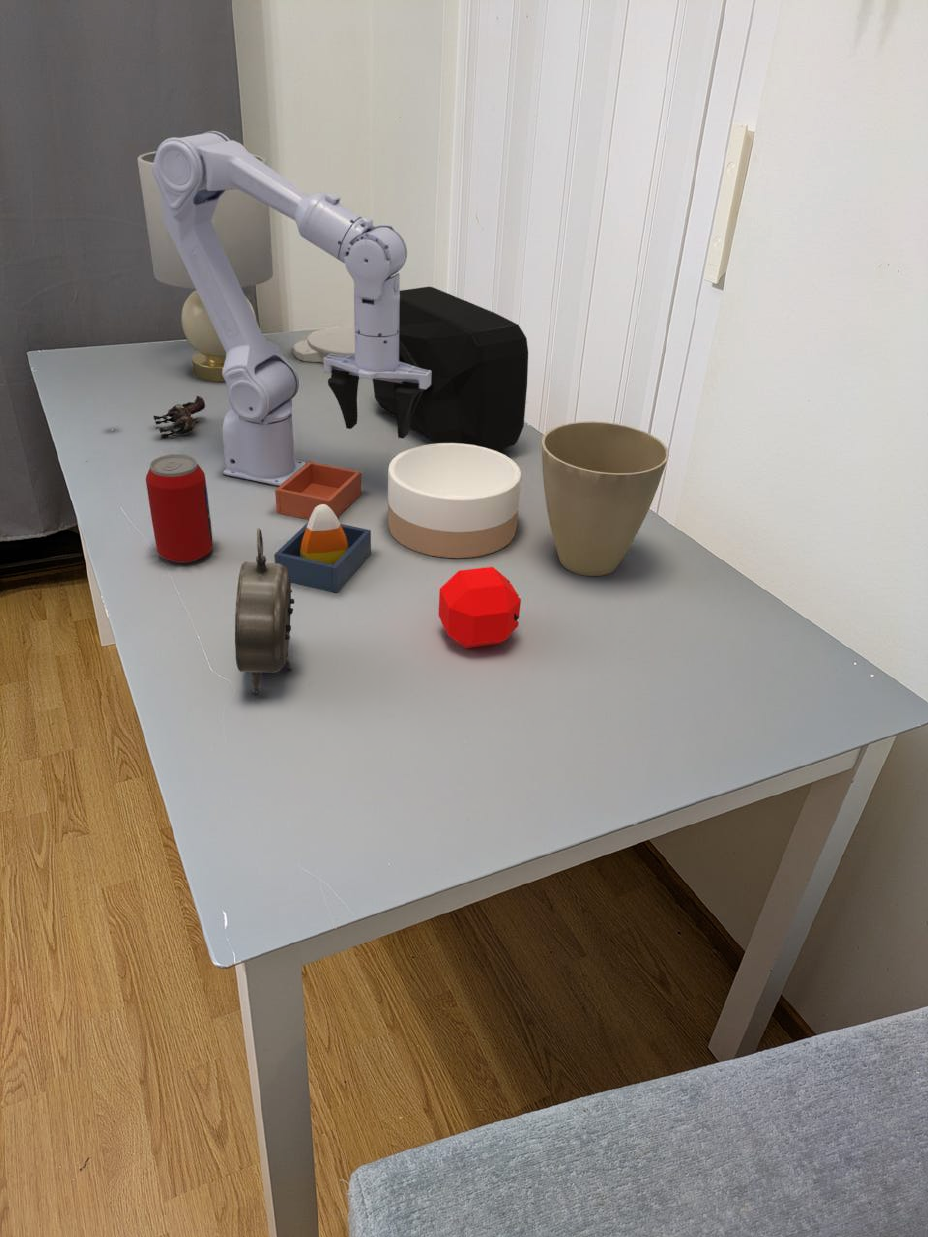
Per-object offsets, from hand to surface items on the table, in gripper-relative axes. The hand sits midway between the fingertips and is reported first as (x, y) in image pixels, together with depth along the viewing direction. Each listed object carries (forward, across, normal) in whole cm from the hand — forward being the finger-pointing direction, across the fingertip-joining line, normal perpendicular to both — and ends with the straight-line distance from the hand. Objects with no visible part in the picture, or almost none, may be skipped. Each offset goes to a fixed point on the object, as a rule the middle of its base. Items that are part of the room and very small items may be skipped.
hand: (377, 430), depth 124 cm
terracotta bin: (+9, -6, -6) cm, 13 cm away
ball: (+10, +24, -28) cm, 38 cm away
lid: (+10, -30, +53) cm, 62 cm away
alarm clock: (+10, +6, -42) cm, 43 cm away
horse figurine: (+10, -39, +6) cm, 41 cm away
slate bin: (+9, +2, -21) cm, 23 cm away
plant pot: (+10, +32, -7) cm, 34 cm away
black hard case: (+10, 0, +25) cm, 26 cm away
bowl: (+10, +13, -5) cm, 17 cm away
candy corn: (+9, +2, -21) cm, 23 cm away
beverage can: (+10, -15, -25) cm, 31 cm away
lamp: (+10, -45, +34) cm, 57 cm away
